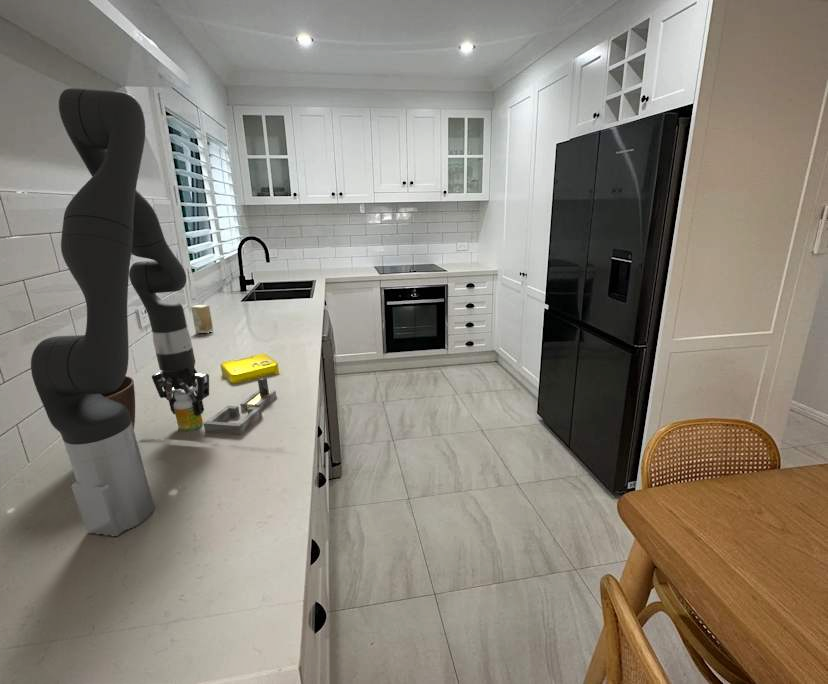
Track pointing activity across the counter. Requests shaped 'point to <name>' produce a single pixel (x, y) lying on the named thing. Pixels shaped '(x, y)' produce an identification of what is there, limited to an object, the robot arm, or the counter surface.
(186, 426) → the supplement bottle
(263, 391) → the locking bolt
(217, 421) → the docking base
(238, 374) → the element tile
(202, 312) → the skincare box
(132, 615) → the counter surface
